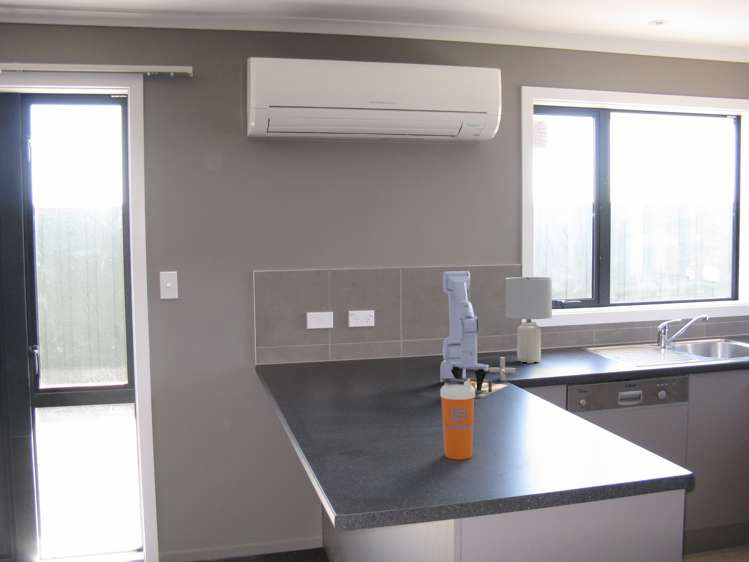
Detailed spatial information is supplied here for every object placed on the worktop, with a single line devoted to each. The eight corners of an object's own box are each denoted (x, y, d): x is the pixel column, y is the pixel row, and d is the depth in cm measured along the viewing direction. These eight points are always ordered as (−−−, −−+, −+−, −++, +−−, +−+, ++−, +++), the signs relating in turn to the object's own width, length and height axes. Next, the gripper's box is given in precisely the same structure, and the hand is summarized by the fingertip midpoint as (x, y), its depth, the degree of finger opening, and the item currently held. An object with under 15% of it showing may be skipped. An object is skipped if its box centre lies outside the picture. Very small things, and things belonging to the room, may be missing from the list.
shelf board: (448, 395, 253) (447, 381, 253) (475, 384, 271) (474, 371, 271) (483, 399, 245) (483, 384, 245) (508, 388, 264) (508, 374, 263)
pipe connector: (515, 385, 268) (515, 359, 267) (489, 385, 270) (489, 359, 269) (515, 380, 277) (515, 355, 277) (490, 380, 279) (490, 355, 279)
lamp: (501, 359, 329) (500, 276, 327) (542, 357, 331) (542, 275, 329) (514, 366, 309) (513, 278, 307) (558, 364, 311) (558, 277, 309)
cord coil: (462, 396, 251) (461, 382, 251) (466, 394, 255) (466, 380, 254) (472, 397, 249) (472, 383, 249) (477, 395, 252) (476, 381, 252)
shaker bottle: (438, 451, 186) (437, 376, 185) (471, 449, 187) (470, 375, 185) (444, 461, 177) (443, 383, 176) (479, 460, 178) (478, 381, 177)
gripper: (445, 351, 252) (446, 389, 252) (482, 354, 243) (483, 393, 244) (454, 348, 257) (455, 385, 258) (491, 351, 249) (491, 389, 250)
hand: (469, 389), depth 252 cm, fingers open, 7 cm apart
